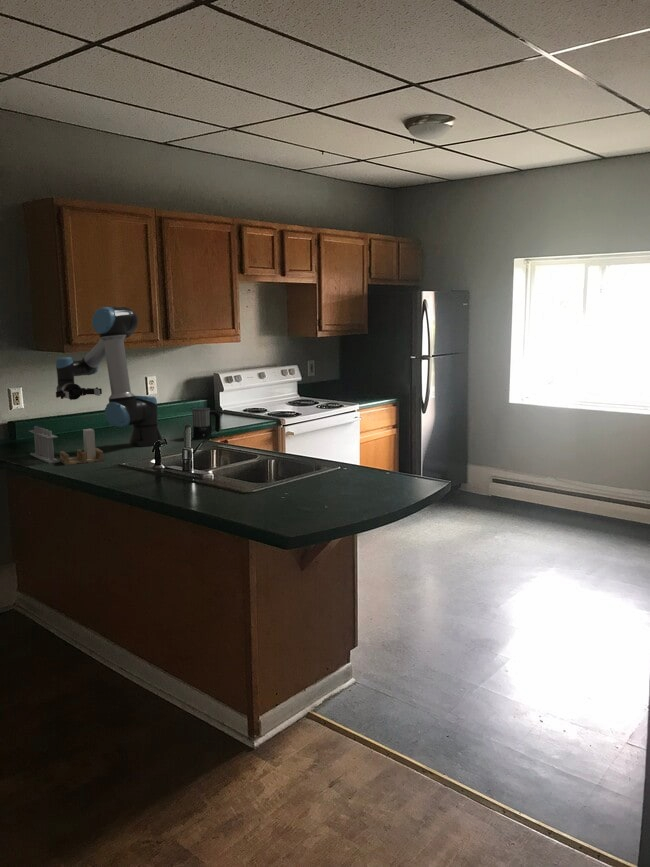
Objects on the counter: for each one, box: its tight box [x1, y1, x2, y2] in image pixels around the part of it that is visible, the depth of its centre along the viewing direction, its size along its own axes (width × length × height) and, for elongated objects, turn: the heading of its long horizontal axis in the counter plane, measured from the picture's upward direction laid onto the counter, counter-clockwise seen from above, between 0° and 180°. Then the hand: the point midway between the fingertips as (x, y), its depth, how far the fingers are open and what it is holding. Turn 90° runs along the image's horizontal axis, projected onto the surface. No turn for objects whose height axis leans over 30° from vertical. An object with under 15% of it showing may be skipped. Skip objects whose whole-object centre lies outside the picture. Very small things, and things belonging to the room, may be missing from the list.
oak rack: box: [59, 447, 105, 466], centre depth 304 cm, size 16×10×4 cm, turn 122°
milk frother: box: [191, 407, 221, 440], centre depth 363 cm, size 14×16×15 cm
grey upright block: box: [82, 428, 96, 459], centre depth 305 cm, size 4×5×12 cm
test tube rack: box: [28, 425, 61, 465], centre depth 309 cm, size 25×4×13 cm, turn 39°
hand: (83, 393), depth 319 cm, fingers open, 13 cm apart
